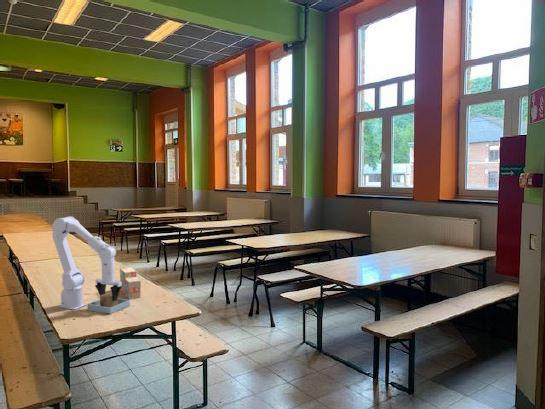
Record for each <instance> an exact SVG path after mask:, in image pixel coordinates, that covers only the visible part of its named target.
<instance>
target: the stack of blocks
mask: <svg viewBox="0 0 545 409" xmlns="http://www.w3.org/2000/svg"><path fill="white" fill-rule="evenodd" d="M119 278H120V280H119V282H122V287H121V289H120V291H121V292H122V293H123V295H125V296H126V298H127V300H132V299H139V298H141V296H142V295H141V294H142V293H141V282H142V281H141V279H140V278H139V277H137V271H136V270H135V268H133V267H132V266H128V267H120V268H119Z"/></svg>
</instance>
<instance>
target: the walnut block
mask: <svg viewBox="0 0 545 409" xmlns="http://www.w3.org/2000/svg"><path fill="white" fill-rule="evenodd" d="M118 298H119V296H118V297H117V300H115V301H113V299H112V292H107V293H105V294H104V295H99V300H100V306H104V307H110V308H111V307H113V306H115V305H118Z"/></svg>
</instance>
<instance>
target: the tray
mask: <svg viewBox="0 0 545 409" xmlns="http://www.w3.org/2000/svg"><path fill="white" fill-rule="evenodd" d="M86 304H87V303H86ZM86 306H87V311H89V312H96V313H99V314H106V315H112V314H115V313H117V312H120V311H121V310H122V311H123V309H126V308H129V307H130V306H131V299H125V298H120V297H118V305H115V306H113V307H111V308H110V307H104V306H100V299H98V300H94V301H92V302H90V303H88V304H87V305H86Z"/></svg>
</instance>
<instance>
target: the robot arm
mask: <svg viewBox="0 0 545 409" xmlns="http://www.w3.org/2000/svg"><path fill="white" fill-rule="evenodd" d="M51 226H52V240H53V243H54V245H55V249H56V252H57V255H58V257H59V260H60V261H59V262H60V263H61V266H62V269H63V274H62V275H61V278H62V283H61V284H62V287H63V289H62V290H61V292H60V306H59V308H62V309H68V310H77V309H79V308H82V307H85V306H87V303H84V302H83V285H84V283H85V281H86V280H85V275H84V274H83V273H82V272H81V269H79V268H78V267H77V265H76V264H75V260H74V258H73V255H72V251H71V249H70V246H69V243H68V242H69V241H68V239H67V236H68V234H70V233H75V234H77V235H78V236H79V237H81V238H82V239H84V240H85V241H86V242H87V245H88V247H90V249H93V251H95V252H96V253H97V254H98V257H99V259H100V260H101V261H100V262H101V278H96V279H94V280H95V285H94V286H95V288H96V290H97V292H98V294H99V296H100V295H104V294H106V288H107V286H110V288H109V289H110V291H111V293H112V299H113V301H115V300H117V297H118V298H119V294H120V291H121V287H122V282H120V280H116V279H115V278H116V276H115V275H116V274H115V273H116V272H115V257H116V255H117V249H116V247H115V246H113V245H109V244H108V243H106V242H104V240H102V237H101V236H98V235H97V236H94V235H92V234H91V233H90V232H89V231H88V230H87V229H86V228H85V227H84V226H83V225H82V223H81V224H80V222H79V220H77V219H76V218H75V217H74V216H72V215H69V216H66V217H60V218H56V219H55V220H54V221H53V223H52V225H51Z"/></svg>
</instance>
